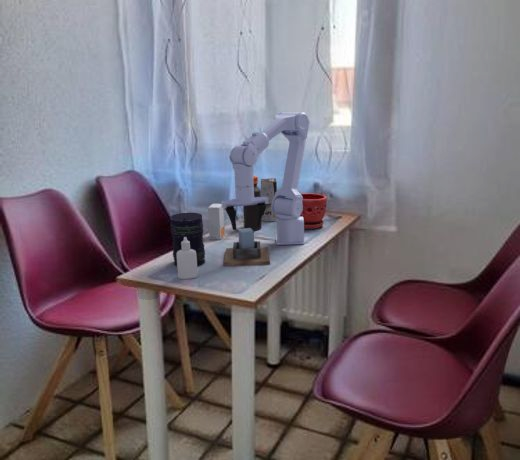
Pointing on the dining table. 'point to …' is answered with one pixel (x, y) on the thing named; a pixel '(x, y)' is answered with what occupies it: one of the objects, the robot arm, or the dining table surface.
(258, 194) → the vinegar
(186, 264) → the eye dropper bottle
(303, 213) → the plant pot
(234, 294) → the dining table surface
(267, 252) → the socket
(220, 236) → the skincare box
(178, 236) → the storage jar
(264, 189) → the coffee box
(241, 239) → the peg
